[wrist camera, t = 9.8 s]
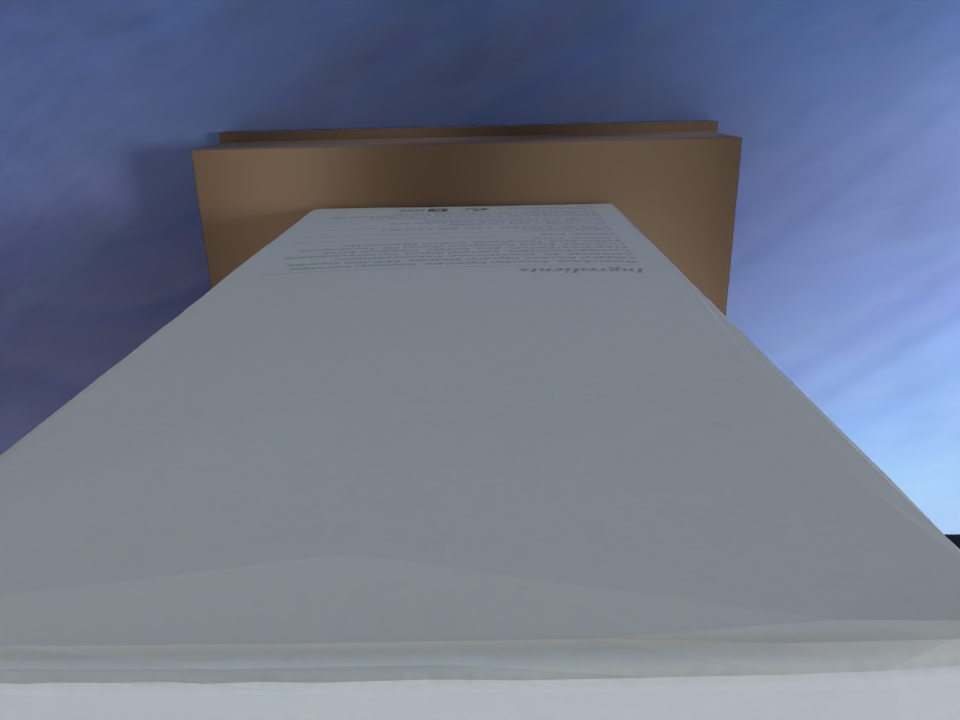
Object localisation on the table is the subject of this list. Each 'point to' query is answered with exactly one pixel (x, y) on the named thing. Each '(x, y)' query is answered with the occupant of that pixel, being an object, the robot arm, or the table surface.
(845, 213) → the table surface
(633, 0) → the table surface
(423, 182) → the plinth
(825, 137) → the table surface
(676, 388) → the small box
